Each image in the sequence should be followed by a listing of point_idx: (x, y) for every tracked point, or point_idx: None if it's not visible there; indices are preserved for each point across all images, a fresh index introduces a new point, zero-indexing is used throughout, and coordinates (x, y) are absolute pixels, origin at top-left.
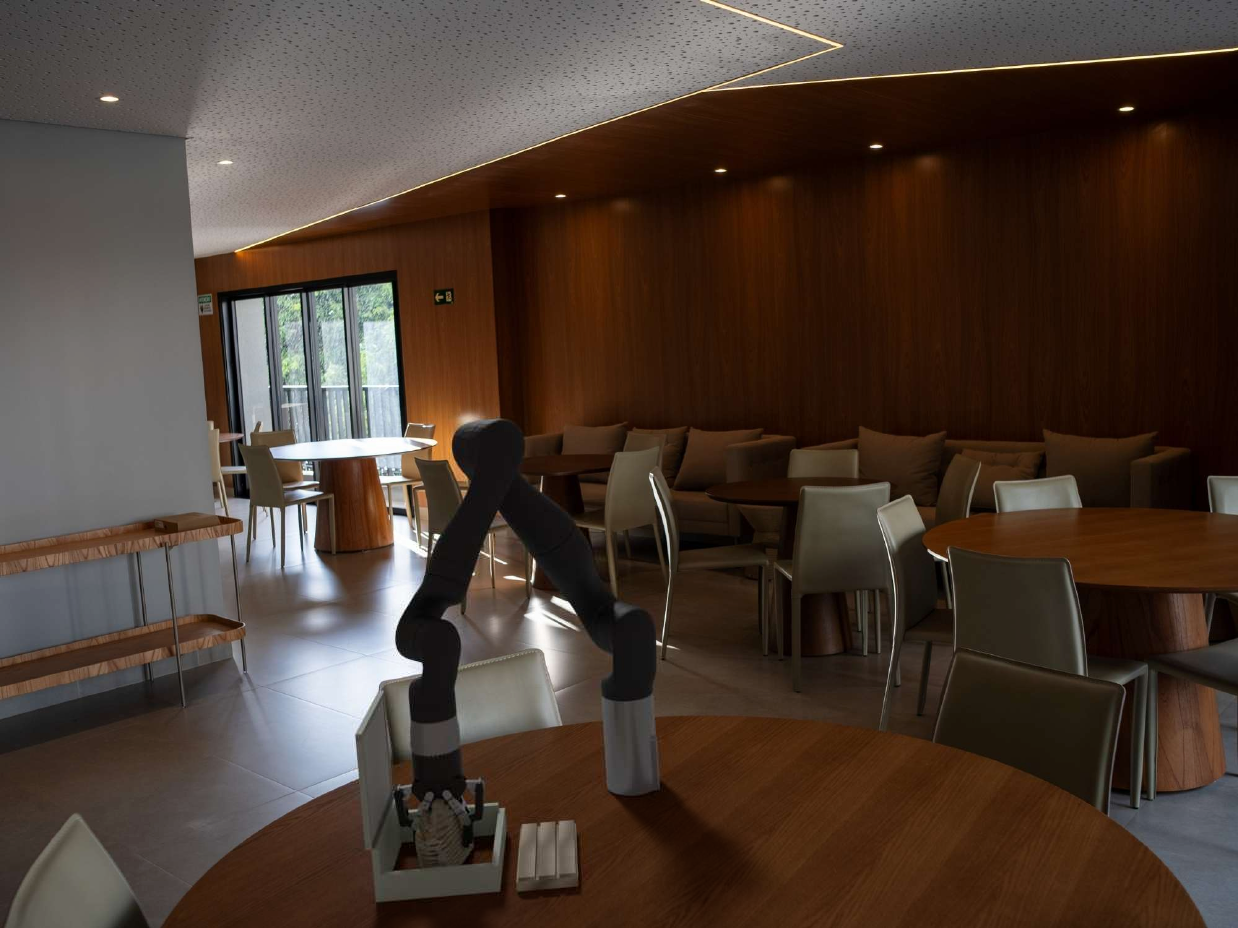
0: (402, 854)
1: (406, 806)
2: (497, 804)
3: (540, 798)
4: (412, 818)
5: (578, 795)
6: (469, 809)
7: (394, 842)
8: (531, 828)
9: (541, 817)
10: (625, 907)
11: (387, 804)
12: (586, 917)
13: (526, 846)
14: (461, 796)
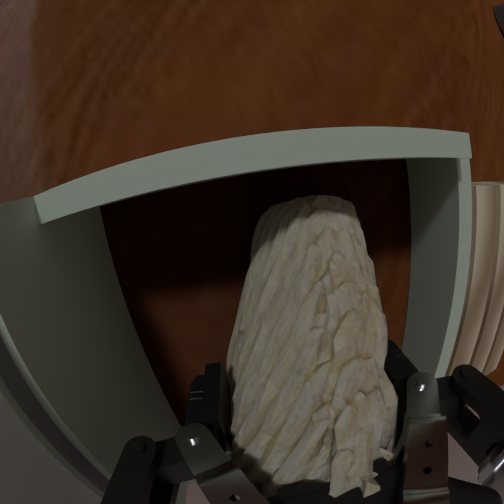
0: (131, 281)
1: (147, 499)
2: (469, 150)
3: (427, 3)
4: (188, 473)
5: (479, 28)
6: (437, 395)
7: (110, 345)
8: (489, 214)
9: (463, 90)
10: (498, 378)
11: (17, 399)
12: (467, 405)
13: (474, 305)
14: (444, 446)
